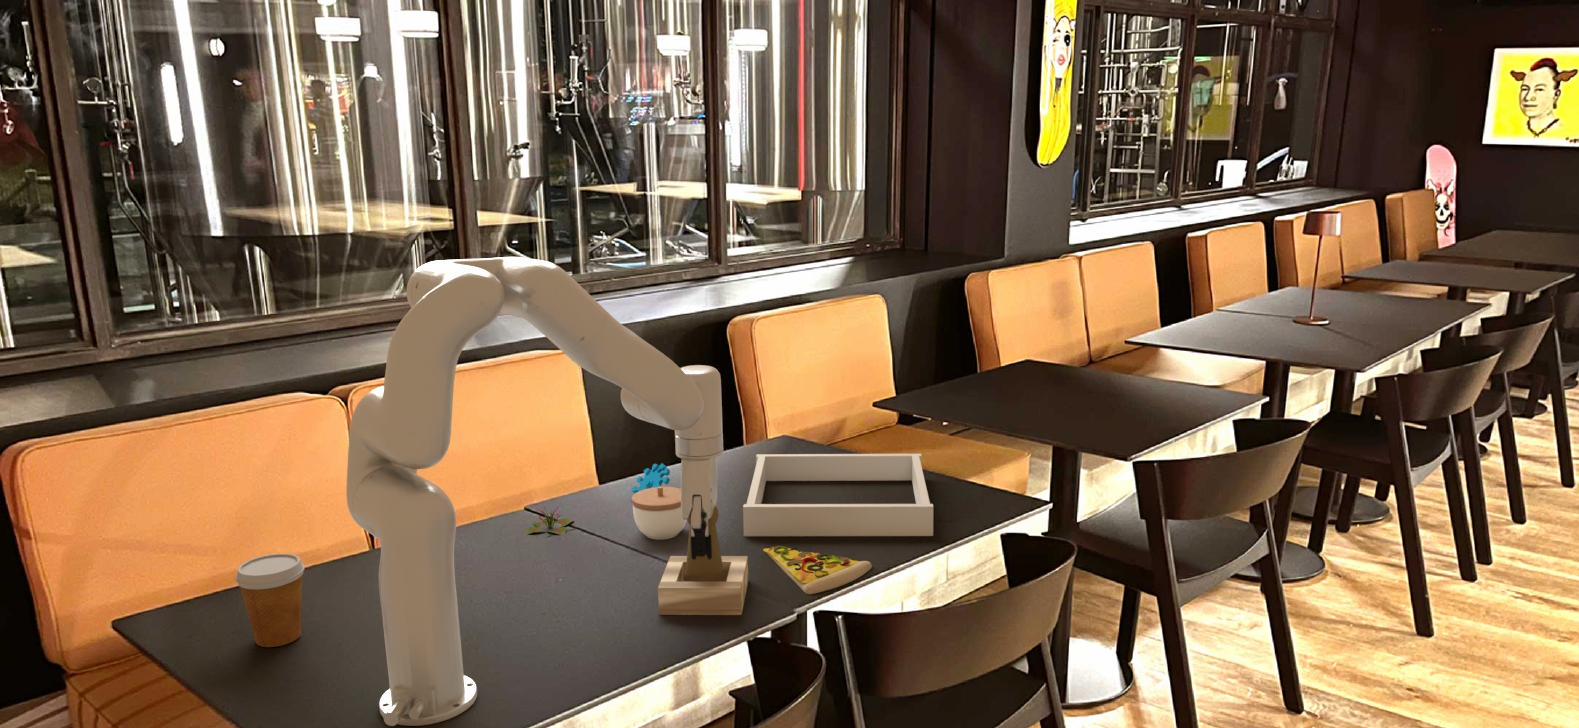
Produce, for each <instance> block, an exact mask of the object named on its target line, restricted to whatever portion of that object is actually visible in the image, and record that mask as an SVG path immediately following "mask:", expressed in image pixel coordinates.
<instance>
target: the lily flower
mask: <svg viewBox="0 0 1579 728" xmlns="http://www.w3.org/2000/svg"><path fill="white" fill-rule="evenodd" d="M542 508H543V509H544V510H546V508H545V506H542ZM559 508H560V506H557V507H556V509H554V511H553V510H551V511H550V512H549V515H550V516H549V515H548V512H547V511H545V512H544V511H543V510H541V509H540V508H539V509H538V508H537V511H538V512H541V513H542V514H543V515H544V516H545V518H544V517H543V516H541V515H539V516H538V520H540V521H541V522H539V521H533V524H534V525H535V526H533V527H529V528H526V529H524V530H525V531H524V534H529V533H530V534H531V533H544V532H547V533H548V532H549V533H554V534H556V535H559V536H561V535H562V534H563V535H566V532H567V531H568V529H567V528H566V527H565V526H567V525H569V524H570V523H572V522H574V521H573V520H572V519H570V518H560V517H561V514H559V513H556V514H555V512H556V511H558V509H559ZM554 515H555V516H554ZM558 518H560V519H558ZM543 524H545V526H546V527H547V528H548V529H550V528H553V526H554V524H561V525H560V528H558V529H557V530H547V531H546V530H539V529H540V527H541V526H542V525H543ZM529 525H531V524H529ZM572 526H573V527H577V525H576V524H572ZM570 530H572V529H569V531H570ZM535 536H536V538H539V535H538V534H535ZM549 536H551V534H548V535H546V538H548V537H549Z"/></svg>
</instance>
